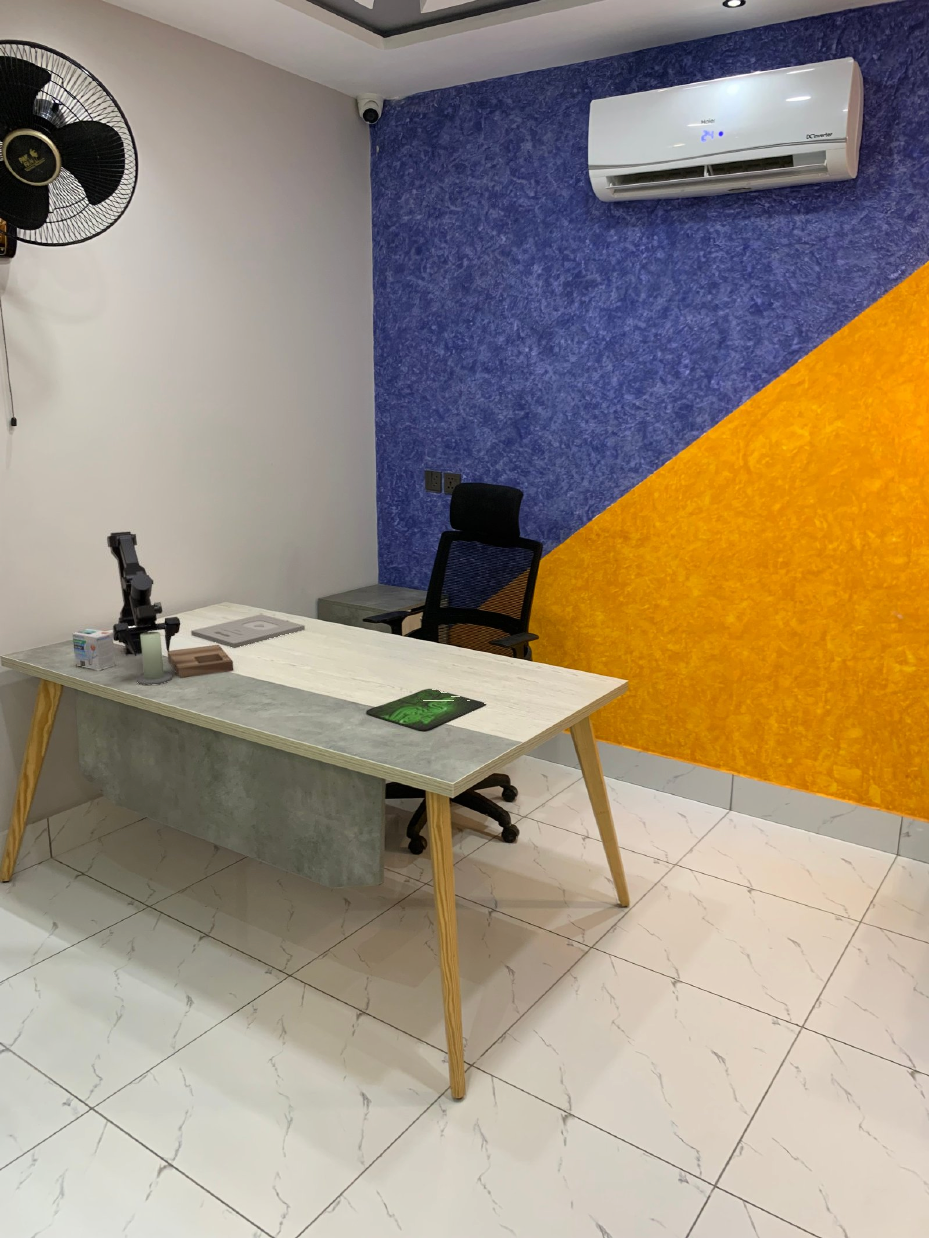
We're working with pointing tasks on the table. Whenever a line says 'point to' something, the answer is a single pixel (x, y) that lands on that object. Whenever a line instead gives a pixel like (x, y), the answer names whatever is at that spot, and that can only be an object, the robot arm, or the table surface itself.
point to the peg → (152, 655)
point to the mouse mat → (425, 709)
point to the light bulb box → (94, 648)
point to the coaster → (142, 680)
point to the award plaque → (247, 630)
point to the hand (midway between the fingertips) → (152, 653)
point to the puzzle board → (200, 661)
